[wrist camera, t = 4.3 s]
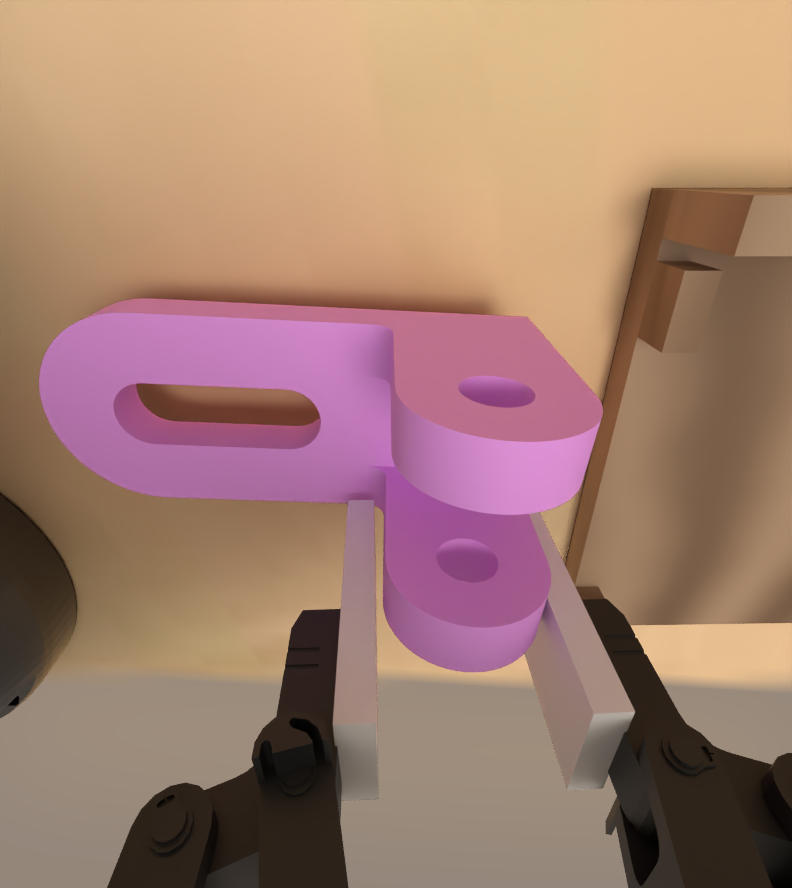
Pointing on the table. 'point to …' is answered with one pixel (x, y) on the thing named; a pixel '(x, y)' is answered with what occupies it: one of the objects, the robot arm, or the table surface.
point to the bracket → (354, 441)
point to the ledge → (697, 420)
